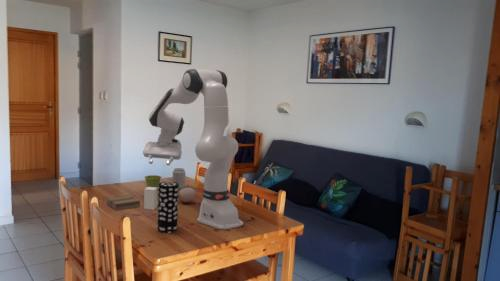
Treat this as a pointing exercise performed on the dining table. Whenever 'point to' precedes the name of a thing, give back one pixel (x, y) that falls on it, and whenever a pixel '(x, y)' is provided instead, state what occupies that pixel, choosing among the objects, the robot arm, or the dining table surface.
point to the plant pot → (153, 181)
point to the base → (123, 202)
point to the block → (150, 198)
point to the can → (179, 176)
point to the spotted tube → (167, 207)
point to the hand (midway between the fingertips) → (159, 163)
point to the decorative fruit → (187, 193)
